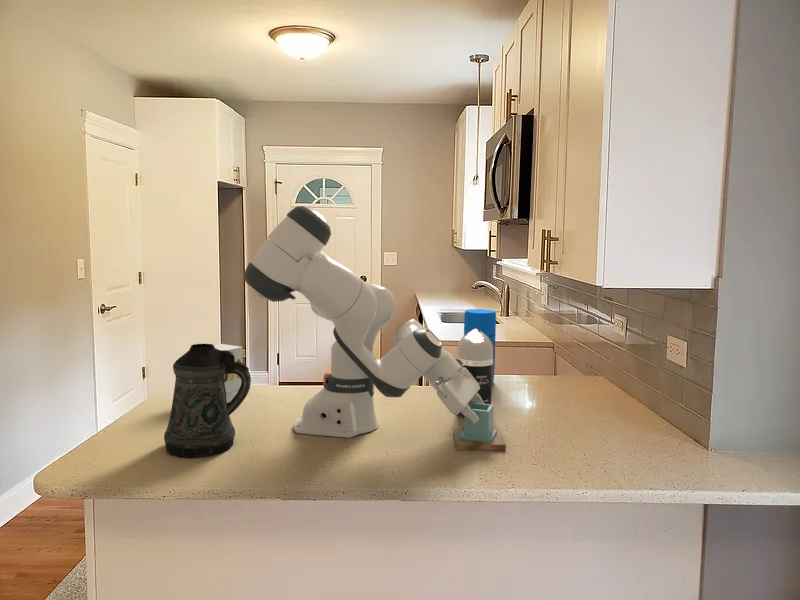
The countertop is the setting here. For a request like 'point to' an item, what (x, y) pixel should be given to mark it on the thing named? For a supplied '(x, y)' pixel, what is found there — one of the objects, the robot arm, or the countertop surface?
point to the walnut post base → (462, 444)
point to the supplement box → (233, 380)
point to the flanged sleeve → (479, 424)
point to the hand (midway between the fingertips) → (481, 415)
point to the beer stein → (204, 402)
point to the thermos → (482, 326)
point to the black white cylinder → (478, 361)
